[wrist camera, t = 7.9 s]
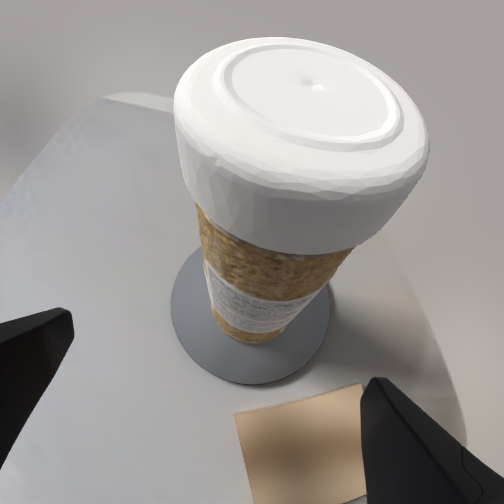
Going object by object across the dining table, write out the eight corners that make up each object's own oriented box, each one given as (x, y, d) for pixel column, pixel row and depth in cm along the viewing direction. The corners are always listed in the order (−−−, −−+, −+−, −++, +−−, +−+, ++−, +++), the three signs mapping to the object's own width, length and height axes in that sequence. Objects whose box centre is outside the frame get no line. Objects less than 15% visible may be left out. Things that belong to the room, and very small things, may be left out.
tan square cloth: (373, 483, 12) (380, 487, 12) (259, 518, 11) (261, 525, 10) (354, 383, 15) (361, 383, 14) (233, 413, 14) (234, 415, 13)
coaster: (332, 379, 15) (336, 378, 15) (170, 382, 15) (167, 382, 14) (318, 236, 19) (321, 232, 19) (178, 234, 18) (176, 230, 18)
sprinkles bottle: (239, 253, 18) (263, 16, 5) (307, 293, 17) (444, 95, 5) (194, 317, 16) (108, 104, 4) (266, 362, 15) (414, 261, 3)
